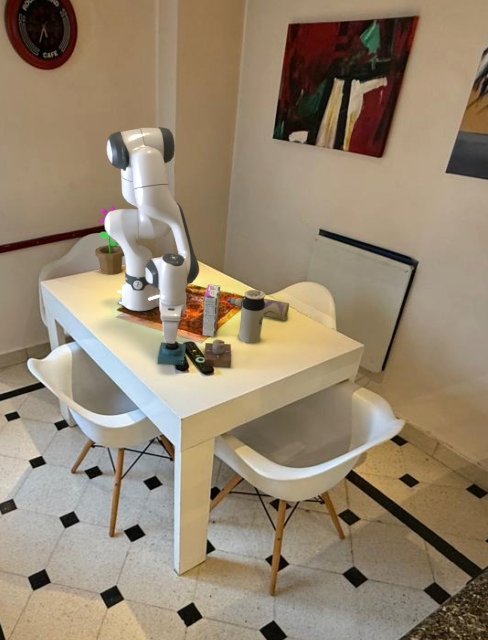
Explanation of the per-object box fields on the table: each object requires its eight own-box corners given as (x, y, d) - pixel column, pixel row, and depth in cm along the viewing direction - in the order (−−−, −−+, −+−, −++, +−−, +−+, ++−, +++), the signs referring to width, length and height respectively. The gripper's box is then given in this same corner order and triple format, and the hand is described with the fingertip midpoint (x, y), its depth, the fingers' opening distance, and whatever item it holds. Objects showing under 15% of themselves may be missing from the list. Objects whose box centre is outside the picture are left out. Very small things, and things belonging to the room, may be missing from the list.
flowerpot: (129, 266, 232) (126, 204, 214) (120, 277, 221) (117, 212, 203) (102, 264, 235) (97, 202, 217) (92, 274, 223) (86, 210, 206)
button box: (161, 347, 168) (161, 338, 165) (185, 349, 167) (186, 339, 165) (157, 363, 159) (157, 353, 156) (183, 365, 158) (184, 355, 156)
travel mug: (234, 338, 174) (239, 293, 163) (246, 331, 178) (252, 287, 168) (251, 345, 169) (258, 300, 159) (263, 338, 174) (270, 293, 164)
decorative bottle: (288, 315, 190) (291, 300, 186) (283, 323, 184) (286, 307, 180) (230, 302, 199) (231, 288, 195) (223, 309, 194) (225, 294, 190)
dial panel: (204, 350, 167) (205, 342, 165) (229, 351, 166) (230, 343, 164) (204, 366, 158) (204, 358, 156) (230, 367, 157) (231, 360, 155)
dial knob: (212, 354, 159) (213, 344, 156) (212, 348, 162) (212, 338, 160) (224, 354, 158) (224, 344, 156) (223, 348, 162) (224, 339, 159)
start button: (167, 344, 163) (167, 339, 161) (178, 344, 162) (178, 340, 161) (166, 350, 159) (166, 345, 158) (177, 350, 159) (177, 346, 158)
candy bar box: (205, 322, 184) (207, 283, 174) (217, 323, 183) (221, 285, 173) (201, 336, 175) (203, 295, 165) (214, 337, 174) (217, 297, 164)
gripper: (166, 291, 160) (166, 327, 168) (160, 318, 143) (160, 356, 151) (184, 292, 159) (183, 327, 167) (180, 319, 143) (179, 357, 151)
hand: (172, 341), depth 159 cm, fingers closed
